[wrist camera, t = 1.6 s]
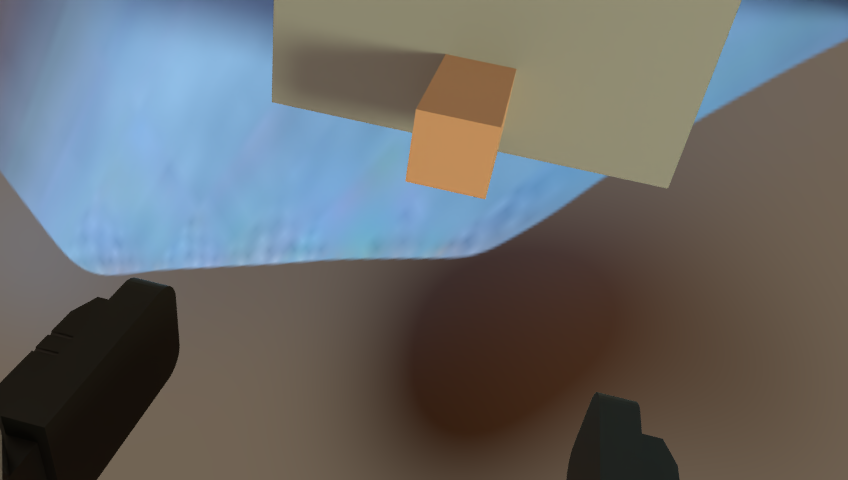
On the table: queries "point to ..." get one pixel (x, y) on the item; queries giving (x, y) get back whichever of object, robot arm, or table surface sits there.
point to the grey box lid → (508, 79)
